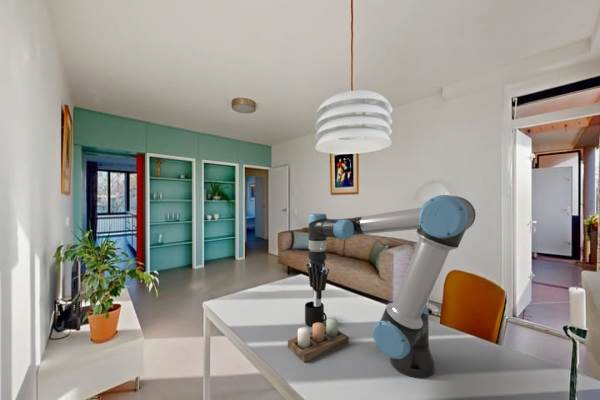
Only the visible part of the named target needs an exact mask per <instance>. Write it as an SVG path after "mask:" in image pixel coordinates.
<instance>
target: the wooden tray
mask: <svg viewBox="0 0 600 400" xmlns="http://www.w3.org/2000/svg"><path fill="white" fill-rule="evenodd" d="M324 332H325V340H324V342H321V343H316V342H314V341H313V331H310V347H308V348H306V349H301V348H299V347H298V336H297V337H293V338H290V339H288V340H287V348H288V350H289V351H291V352H292V354H294V355H295V356H296V357H297V358H298V359H300V361H302V362H303V364H304V363H307V362H309V361H311V360H314V359H316V358H318V357H321V356H323V355H326V354H328V353H330V352H332V351H335V350H337V349H340V348H342V347H344V346H347V345H349V344H350V342H349V338H350V337H349V336H348V335H346V334H345V333H344V332H342V331H340V330H339V329H338V336H336V337H334V338H332V337H329V336H327V334H326V326H324Z"/></svg>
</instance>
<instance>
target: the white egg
mask: <svg viewBox="0 0 600 400" xmlns="http://www.w3.org/2000/svg"><path fill="white" fill-rule="evenodd" d="M310 332H311V330H310V328H309V327H305V326H303V327H299V328H298V329H297V337H298V347H299V348H300V349H301V350H303V349H306V348H308V347H310Z"/></svg>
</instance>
